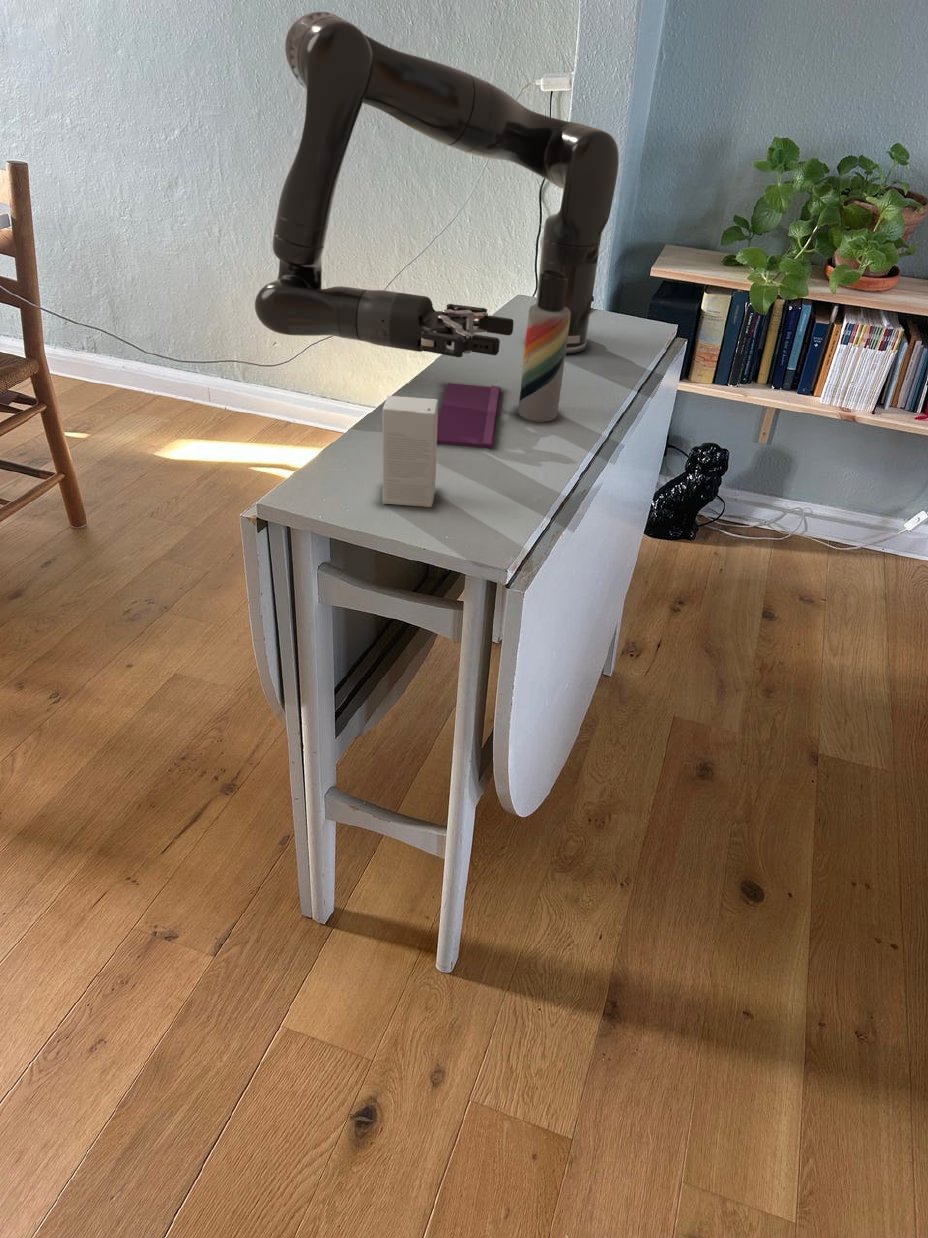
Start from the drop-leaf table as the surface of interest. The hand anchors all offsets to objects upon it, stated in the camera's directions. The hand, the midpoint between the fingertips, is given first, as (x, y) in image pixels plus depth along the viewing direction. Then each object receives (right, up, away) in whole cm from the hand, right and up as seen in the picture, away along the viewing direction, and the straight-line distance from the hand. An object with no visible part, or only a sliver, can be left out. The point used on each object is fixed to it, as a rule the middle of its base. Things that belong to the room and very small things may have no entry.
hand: (506, 336), depth 124 cm
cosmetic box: (-13, -25, -17) cm, 32 cm away
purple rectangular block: (-5, -10, +4) cm, 12 cm away
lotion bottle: (+5, -10, +5) cm, 12 cm away
